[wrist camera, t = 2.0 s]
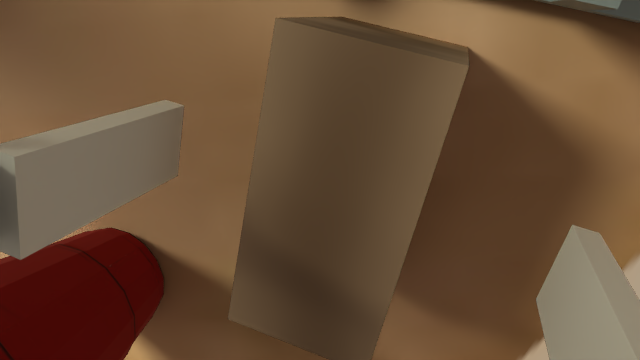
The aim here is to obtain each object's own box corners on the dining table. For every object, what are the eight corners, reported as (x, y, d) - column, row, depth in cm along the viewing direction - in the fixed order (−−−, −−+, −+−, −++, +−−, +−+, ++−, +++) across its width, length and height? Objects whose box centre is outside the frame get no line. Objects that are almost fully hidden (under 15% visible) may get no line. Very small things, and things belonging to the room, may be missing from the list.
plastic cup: (226, 231, 23) (15, 424, 12) (186, 376, 27) (5, 612, 17) (51, 148, 25) (-274, 253, 14) (39, 298, 29) (-213, 466, 18)
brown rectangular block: (296, 231, 22) (227, 319, 16) (341, 16, 18) (275, 18, 12) (396, 266, 21) (366, 374, 15) (467, 47, 17) (469, 66, 11)
